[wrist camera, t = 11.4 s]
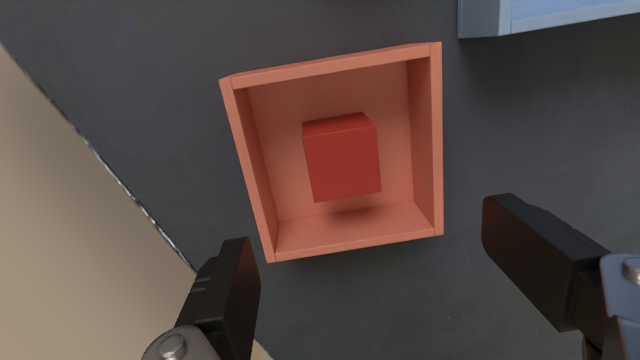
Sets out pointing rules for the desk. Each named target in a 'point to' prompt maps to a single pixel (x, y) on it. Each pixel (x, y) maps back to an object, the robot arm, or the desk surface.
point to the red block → (342, 156)
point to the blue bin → (533, 14)
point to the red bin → (329, 101)
